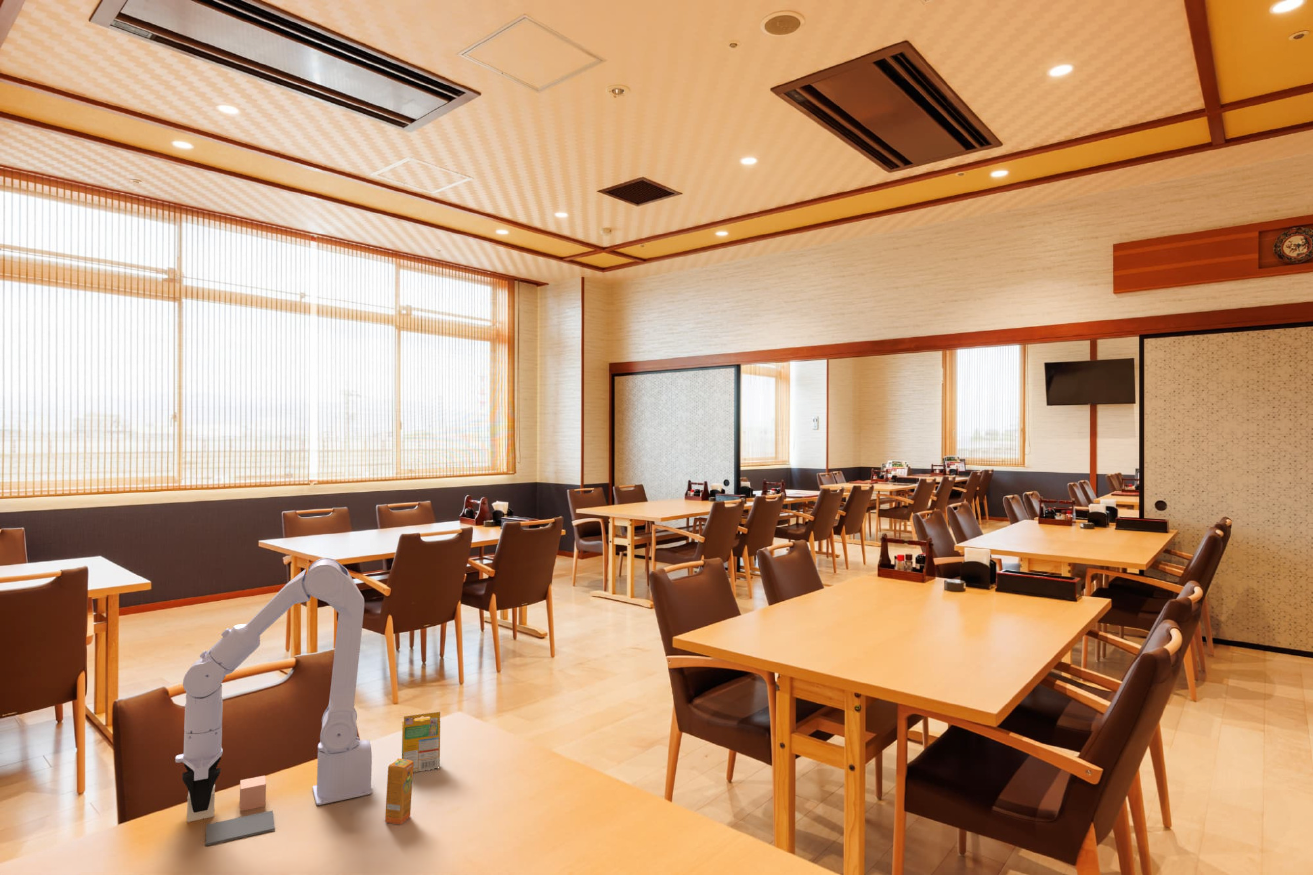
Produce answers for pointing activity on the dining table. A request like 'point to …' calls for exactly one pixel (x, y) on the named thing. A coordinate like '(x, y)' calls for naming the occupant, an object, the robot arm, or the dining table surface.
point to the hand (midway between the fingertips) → (201, 804)
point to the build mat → (239, 827)
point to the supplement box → (399, 791)
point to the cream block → (202, 814)
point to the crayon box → (421, 741)
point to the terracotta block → (252, 793)
